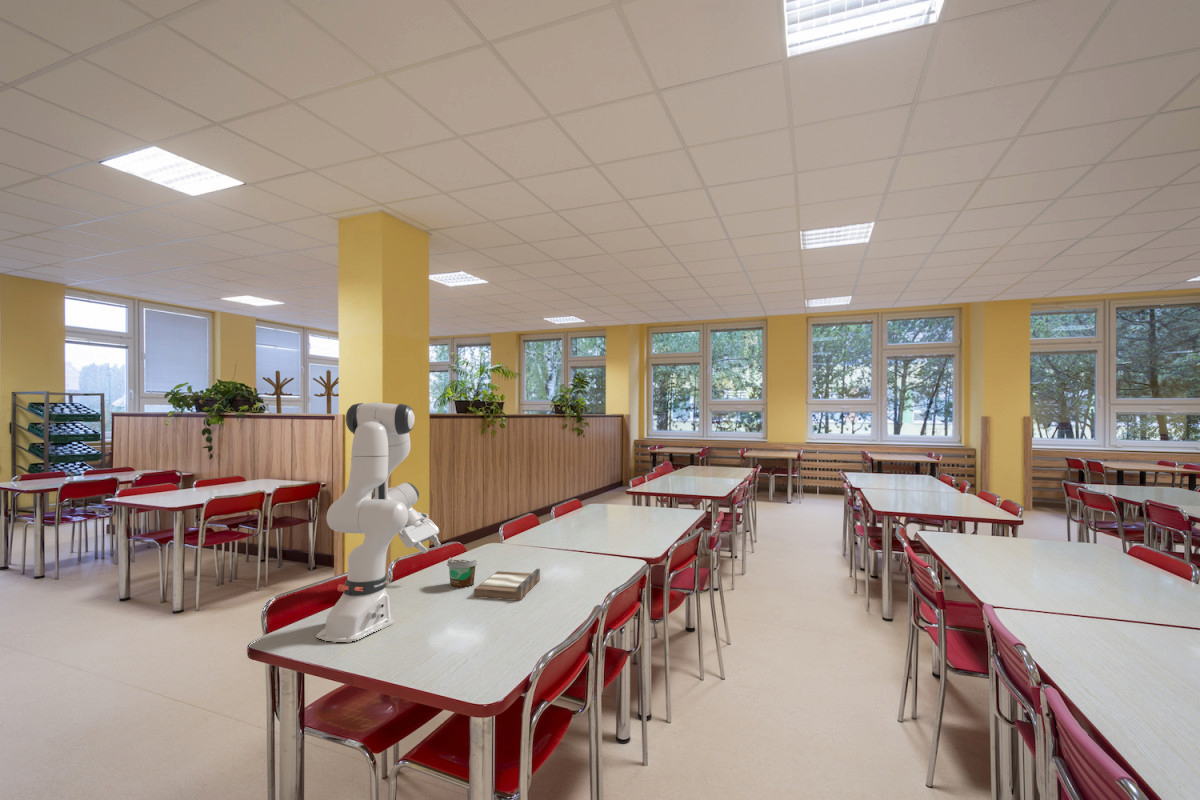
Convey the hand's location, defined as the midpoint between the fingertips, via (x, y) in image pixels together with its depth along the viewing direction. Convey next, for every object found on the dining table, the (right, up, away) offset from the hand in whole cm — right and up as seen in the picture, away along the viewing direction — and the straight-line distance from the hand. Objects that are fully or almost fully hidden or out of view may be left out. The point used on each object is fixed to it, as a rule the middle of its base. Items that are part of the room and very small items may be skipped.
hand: (432, 548), depth 199 cm
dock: (+31, -14, -6) cm, 34 cm away
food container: (+11, -14, -3) cm, 18 cm away
